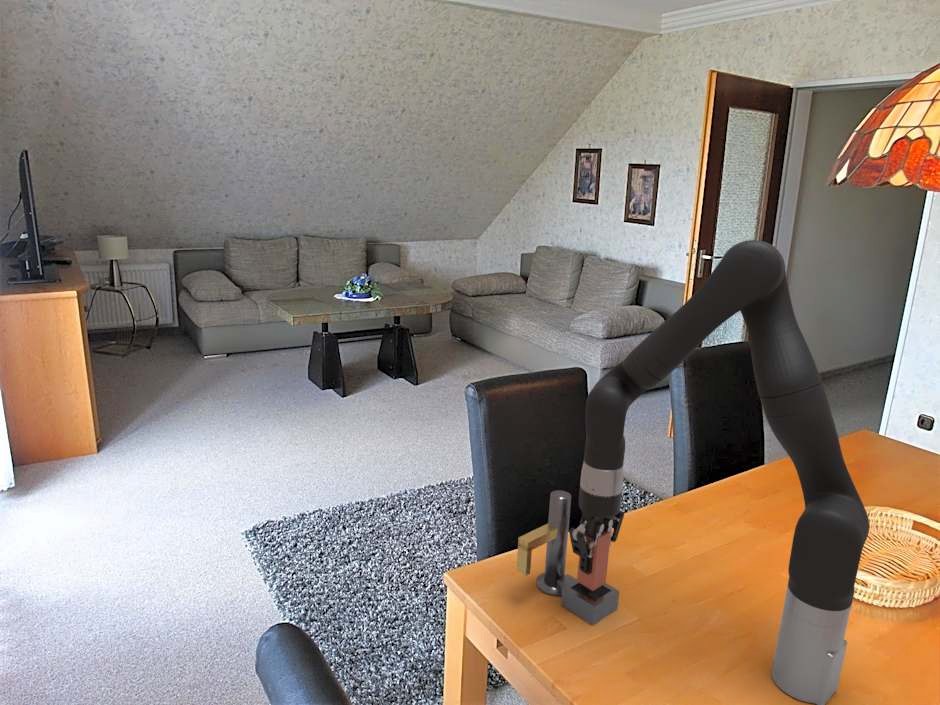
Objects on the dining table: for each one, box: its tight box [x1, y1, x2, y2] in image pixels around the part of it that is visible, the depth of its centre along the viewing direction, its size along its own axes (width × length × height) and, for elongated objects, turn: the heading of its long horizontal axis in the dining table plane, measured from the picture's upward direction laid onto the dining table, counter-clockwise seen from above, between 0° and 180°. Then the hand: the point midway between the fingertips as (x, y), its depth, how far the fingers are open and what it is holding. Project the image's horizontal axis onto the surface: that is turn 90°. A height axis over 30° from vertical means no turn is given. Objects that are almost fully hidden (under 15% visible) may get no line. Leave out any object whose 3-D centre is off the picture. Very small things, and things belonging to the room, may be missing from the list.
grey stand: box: [516, 489, 620, 626], centre depth 127 cm, size 16×14×20 cm
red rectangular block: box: [576, 531, 611, 591], centre depth 126 cm, size 4×4×11 cm
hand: (593, 567), depth 127 cm, fingers closed on red rectangular block, 3 cm apart
